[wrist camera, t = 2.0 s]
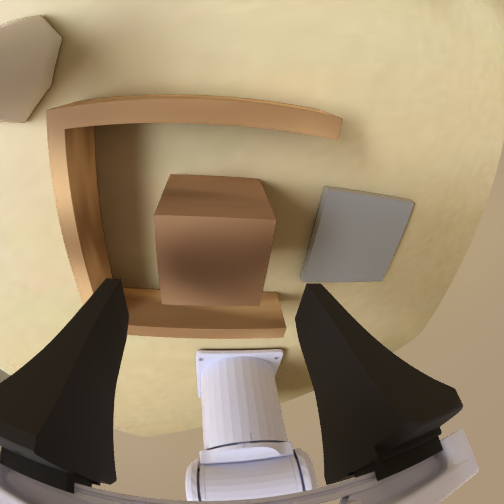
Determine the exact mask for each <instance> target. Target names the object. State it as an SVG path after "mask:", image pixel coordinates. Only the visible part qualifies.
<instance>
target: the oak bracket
mask: <svg viewBox="0 0 504 504" xmlns="http://www.w3.org/2000/svg"><path fill="white" fill-rule="evenodd" d="M46 114H47V136H48V149H49V159H50V168H51V176H52V183H53V189H54V196H55V201H56V207H57V212H58V217H59V222H60V226H61V230H62V235H63V239H64V243H65V247H66V251H67V254H68V258H69V262H70V265H71V268H72V272H73V275H74V278H75V281H76V284H77V288H78V291H79V293H80V296H81V299H82V302H83V305H84V304H85V303H86V302H87V300H88V299H89V298H90V297H91V296H92V294H93V293H94V292H95V291H96V290H97V288H98V287H99V286H100V285H101V284H102V283H103V281H104V280H105V279H106V278H113V277H112V273H111V268H110V263H109V258H108V253H107V248H106V242H105V237H104V231H103V224H102V217H101V210H100V202H99V194H98V184H97V174H96V160H95V141H94V126H97V125H110V124H127V123H204V124H222V125H235V126H246V127H256V128H265V129H274V130H281V131H289V132H295V133H302V134H308V135H314V136H320V137H325V138H330V139H335V140H338V138H339V133H340V128H341V124H342V118H339V117H336V116H334V115H331V114H328V113H325V112H323V111H320V110H317V109H313V108H308V107H302V106H297V105H291V104H284V103H278V102H271V101H263V100H255V99H246V98H235V97H223V96H206V95H139V96H122V97H110V98H100V99H92V100H84V101H78V102H74V103H70V104H67V105H63V106H60V107H56V108H53V109H50V110H47V111H46ZM123 291H124V296H125V300H126V304H127V308H128V312H129V323H128V331H127V335H139V336H154V337H174V338H208V339H246V338H280V337H284V334H285V331H286V325H285V321H284V317H283V314H282V310H281V306H280V303H279V299H278V296H277V292H262V297H261V302H260V306H197V305H168V304H162V300H161V292H160V290H158V289H137V288H123Z"/></svg>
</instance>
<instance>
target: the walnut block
mask: <svg viewBox="0 0 504 504" xmlns="http://www.w3.org/2000/svg"><path fill="white" fill-rule="evenodd" d="M154 221H155V237H156V251H157V263H158V273H159V283H160V292H161V300H162V304H168V305H197V306H260V302H261V297H262V292H263V288H264V283H265V278H266V273H267V268H268V263H269V258H270V253H271V247H272V242H273V237H274V232H275V227H276V222H277V220H276V217H275V215H274V212H273V210H272V208H271V205H270V203H269V200H268V198H267V196H266V193H265V191H264V189H263V186H262V184H261V182H260V179H254V178H240V177H224V176H204V175H172V174H170V177H169V179H168V181H167V184H166V186H165V189H164V191H163V194H162V196H161V199H160V201H159V204H158V206H157V209H156V212H155V214H154Z"/></svg>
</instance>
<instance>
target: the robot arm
mask: <svg viewBox="0 0 504 504" xmlns="http://www.w3.org/2000/svg"><path fill="white" fill-rule="evenodd" d="M295 322H296V328H297V333H298V339H299V343H300V346H301V349H302V352H303V355H304V359H305V362H306V365H307V368H308V371H309V374H310V378H311V381H312V384H313V387H314V391H315V395H316V400H317V406H318V412H319V418H320V425H321V432H322V441H323V453H324V477H325V481H326V484H327V485H328V484H332V483H336V482H339V481H343V480H347V479H350V478H353V477H355V478H353V479H350V480H347V481H343V482H340V483H336V484H333V485H329V486H325V487H321V488H318V485H317V480H316V476H315V471H314V468H313V464H312V462H311V459H310V457H309V455H308V454H307V453H305V452H304V451H302V450H301V449H300V448H297V449H293V446H292V443H291V441H288V440H287V435H286V431H285V426H284V421H283V416H282V411H281V406H280V401H279V397H278V392H277V387H276V382H275V375H276V373H277V370H278V367H279V365H280V362H281V360H282V357H283V350H281V349H269V350H229V351H215V350H200V351H197V352H196V367H197V384H198V397H200V398H202V419H203V439H204V450H203V451H199V452H200V459H195V460H193V461H192V463H191V464H190V465H189V466H188V468H187V472H186V481H185V484H186V485H185V486H186V497H187V501H179V500H165V499H155V498H146V497H138V496H132V495H126V494H119V493H115V492H110V491H105V490H101V489H96V488H92V484H96V485H100V483H105V484H112V483H114V482H115V481H116V479H117V478H116V471H115V461H114V445H113V413H114V397H115V389H116V383H117V378H118V374H119V369H120V364H121V360H122V356H123V351H124V347H125V343H126V338H127V331H128V323H129V312H128V308H127V304H126V300H125V296H124V291H123V287H122V282H121V279H113V278H106V279H105V280H104V281H103V283H102V284H101V285H100V286H99V287H98V288H97V290H96V291H95V292H94V293H93V294H92V296H91V297H90V298H89V299H88V300H87V302H86V303H85V304H84V305H83V306H82V307H81V309H80V310H79V311H78V312H77V313H76V315H75V316H74V317H73V318H72V319H71V320H70V321H69V323H68V324H67V325H66V326H65V327H64V328H63V329H62V330H61V331H60V333H59V334H58V335H57V336H56V337H55V338H54V339H53V340H52V341H51V342H50V343H49V344H48V345H47V346H46V347H45V348H44V349H43V350H42V351H40V352H39V353H38V354H37V355H36V356H35V357H34V358H32V359H31V360H30V361H29V362H28V363H26V364H25V365H24V366H23V367H22V368H20V369H19V370H18V371H16V372H15V373H14V374H13V375H11V376H10V377H8V378H7V379H6V380H4V381H3V382H1V383H0V445H1V446H2V450H1V452H0V504H320V503H324V502H328V501H332V500H335V499H339V498H342V497H343V498H342V499H341V501H340V503H339V504H439V503H440V502H442V501H443V500H444V499H445V498H446V497H448V496H449V495H450V494H451V493H453V492H454V491H455V490H456V489H457V488H459V487H460V486H461V485H462V484H464V483H465V482H466V481H467V480H469V479H470V478H471V477H472V476H474V475H475V474H476V473H477V472H478V471H479V469H478V466H477V463H476V460H475V458H474V455H473V452H472V450H471V447H470V444H469V442H468V440H467V437H466V435H465V432H464V430H463V428H461V429H459V430H457V431H456V432H454V433H452V434H450V435H449V436H447V437H445V438H443V439H442V440H439V437H438V435H440V434H441V429H440V426H441V425H442V424H444V423H445V422H447V421H448V420H449V419H451V418H452V417H453V416H455V415H456V414H457V413H458V412H459V411H460V410H461V409H462V407H463V404H462V402H461V400H460V398H459V396H458V394H457V392H456V390H455V389H454V388H452V387H450V386H448V385H446V384H443V383H441V382H439V381H437V380H435V379H433V378H431V377H429V376H427V375H425V374H424V373H422V372H420V371H419V370H417V369H415V368H414V367H412V366H410V365H409V364H408V363H406V362H405V361H403V360H402V359H400V358H399V357H397V356H396V355H395V354H393V353H392V352H391V351H390V350H388V349H387V348H386V347H385V346H383V345H382V344H381V343H380V342H378V341H377V340H376V339H375V338H374V337H373V336H372V335H371V334H370V333H368V332H367V331H366V330H365V329H364V328H363V327H362V326H361V325H360V324H359V323H358V322H357V321H356V320H355V319H354V318H353V317H352V316H351V315H350V314H349V313H348V312H347V311H346V310H345V309H344V308H343V307H342V305H341V304H340V303H339V302H338V301H337V300H336V299H335V298H334V297H333V296H332V295H331V294H330V293H329V292H328V291H327V290H326V288H325V287H324V286H323V285H322V284H306V287H305V290H304V293H303V296H302V299H301V302H300V305H299V308H298V311H297V314H296V317H295Z"/></svg>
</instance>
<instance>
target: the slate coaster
mask: <svg viewBox="0 0 504 504" xmlns="http://www.w3.org/2000/svg"><path fill="white" fill-rule="evenodd" d="M414 204H415V203H414V202H412V201H411V200H409V199H404V198H399V197H393V196H388V195H382V194H376V193H370V192H363V191H357V190H350V189H343V188H336V187H328V186H324V190H323V194H322V199H321V203H320V206H319V210H318V214H317V218H316V222H315V226H314V229H313V233H312V237H311V241H310V244H309V248H308V251H307V255H306V259H305V262H304V266H303V269H302V272H301V276H300V277H301V280H302V282H372V281H382V280H383V278H384V276H385V273H386V271H387V269H388V267H389V265H390V263H391V260H392V258H393V256H394V254H395V251H396V249H397V247H398V244H399V242H400V240H401V237H402V235H403V232H404V230H405V227H406V225H407V222H408V220H409V217H410V214H411V212H412V209H413V206H414Z"/></svg>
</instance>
